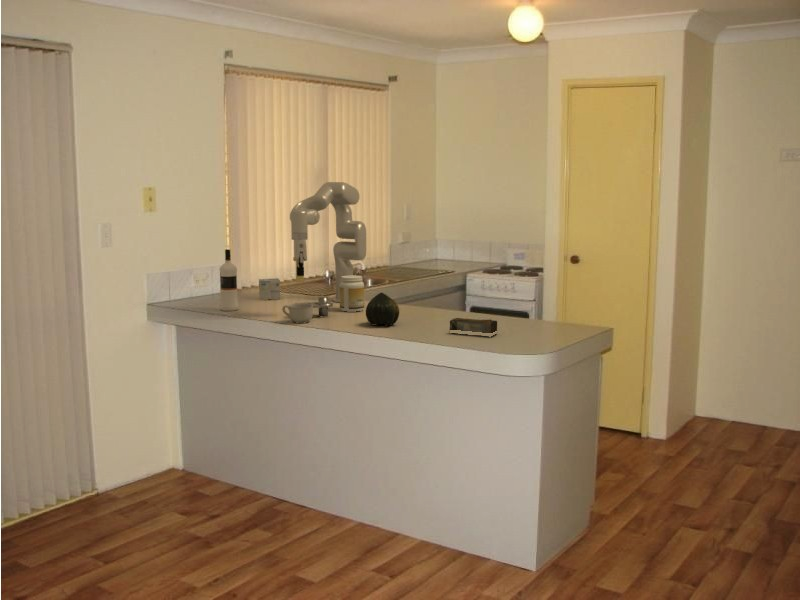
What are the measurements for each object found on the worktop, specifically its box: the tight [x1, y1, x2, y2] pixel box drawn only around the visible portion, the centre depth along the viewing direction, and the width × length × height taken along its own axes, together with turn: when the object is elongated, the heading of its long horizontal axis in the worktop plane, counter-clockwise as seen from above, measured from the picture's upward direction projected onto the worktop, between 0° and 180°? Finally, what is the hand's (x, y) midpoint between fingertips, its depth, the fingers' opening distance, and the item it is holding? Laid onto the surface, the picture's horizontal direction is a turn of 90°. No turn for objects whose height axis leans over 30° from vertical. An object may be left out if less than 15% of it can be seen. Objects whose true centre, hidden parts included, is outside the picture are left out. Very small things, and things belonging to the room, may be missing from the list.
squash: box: [365, 292, 400, 326], centre depth 358 cm, size 14×15×15 cm
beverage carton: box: [449, 317, 498, 333], centre depth 339 cm, size 8×19×7 cm, turn 65°
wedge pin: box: [292, 256, 306, 283], centre depth 376 cm, size 5×3×12 cm, turn 106°
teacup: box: [281, 302, 314, 324], centre depth 364 cm, size 14×11×8 cm
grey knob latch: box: [303, 296, 334, 317], centre depth 377 cm, size 17×10×9 cm, turn 107°
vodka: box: [219, 248, 240, 312], centre depth 393 cm, size 9×9×30 cm
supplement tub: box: [339, 274, 365, 313], centre depth 394 cm, size 12×12×17 cm
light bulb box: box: [258, 277, 281, 301], centre depth 428 cm, size 11×7×11 cm, turn 108°
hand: (299, 275), depth 377 cm, fingers closed on wedge pin, 3 cm apart
